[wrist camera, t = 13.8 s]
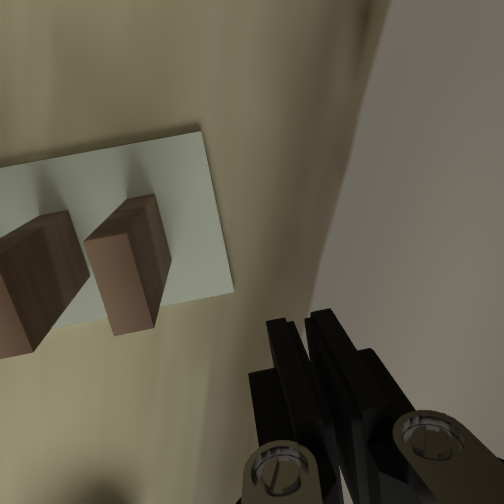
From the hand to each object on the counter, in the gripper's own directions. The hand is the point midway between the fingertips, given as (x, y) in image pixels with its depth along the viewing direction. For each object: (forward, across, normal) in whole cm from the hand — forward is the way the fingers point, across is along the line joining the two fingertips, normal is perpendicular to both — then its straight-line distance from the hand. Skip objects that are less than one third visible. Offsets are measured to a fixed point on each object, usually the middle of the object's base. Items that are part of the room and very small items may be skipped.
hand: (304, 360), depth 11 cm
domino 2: (+19, +7, 0) cm, 20 cm away
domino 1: (+19, +13, 0) cm, 23 cm away
